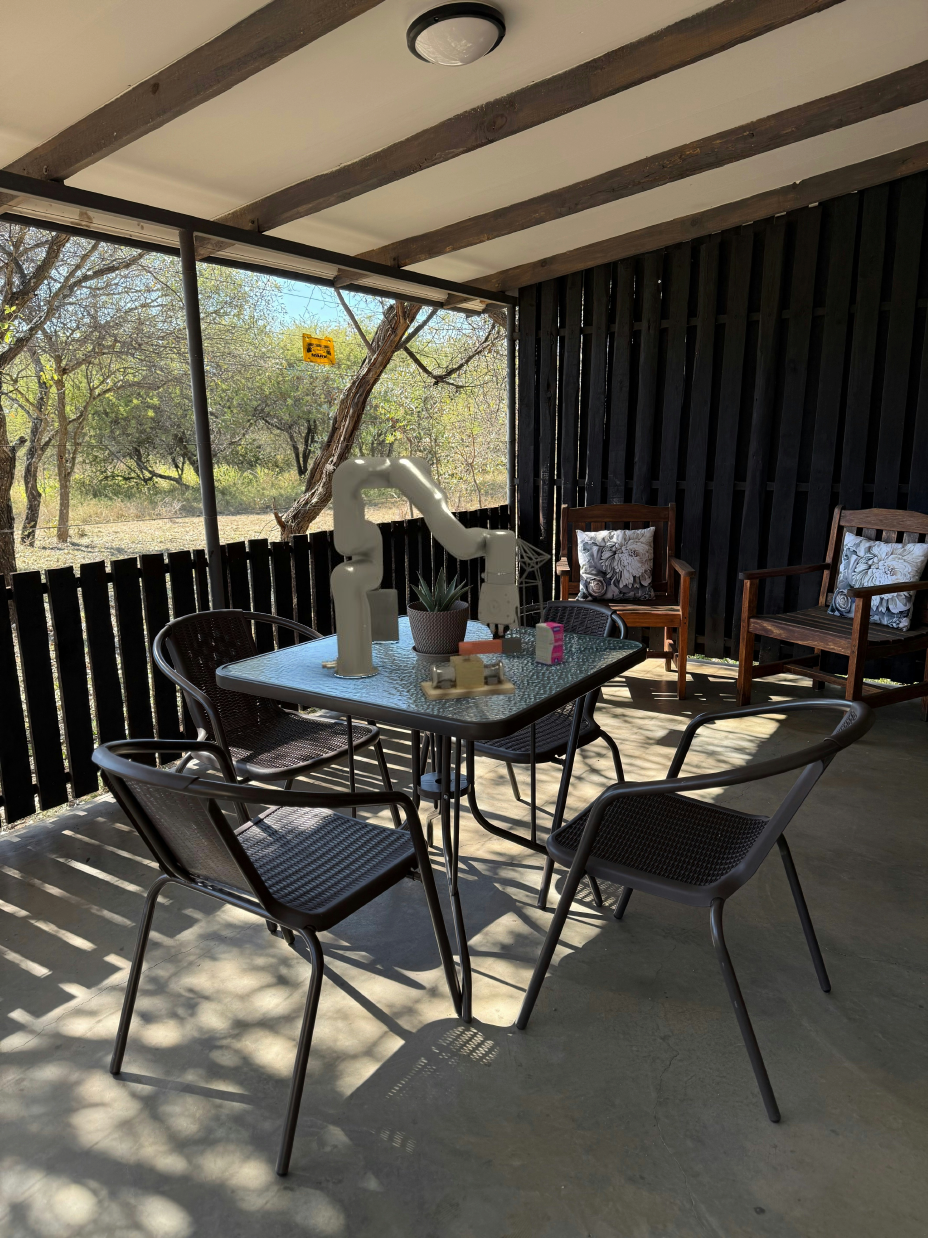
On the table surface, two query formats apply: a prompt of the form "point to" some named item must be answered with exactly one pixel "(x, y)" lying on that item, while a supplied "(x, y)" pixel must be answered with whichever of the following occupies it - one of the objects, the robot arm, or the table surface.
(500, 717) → the table surface
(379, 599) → the flask
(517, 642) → the valve lever
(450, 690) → the mounting board
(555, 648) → the supplement box
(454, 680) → the pipe valve
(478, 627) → the table surface
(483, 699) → the table surface
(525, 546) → the geometric lantern
